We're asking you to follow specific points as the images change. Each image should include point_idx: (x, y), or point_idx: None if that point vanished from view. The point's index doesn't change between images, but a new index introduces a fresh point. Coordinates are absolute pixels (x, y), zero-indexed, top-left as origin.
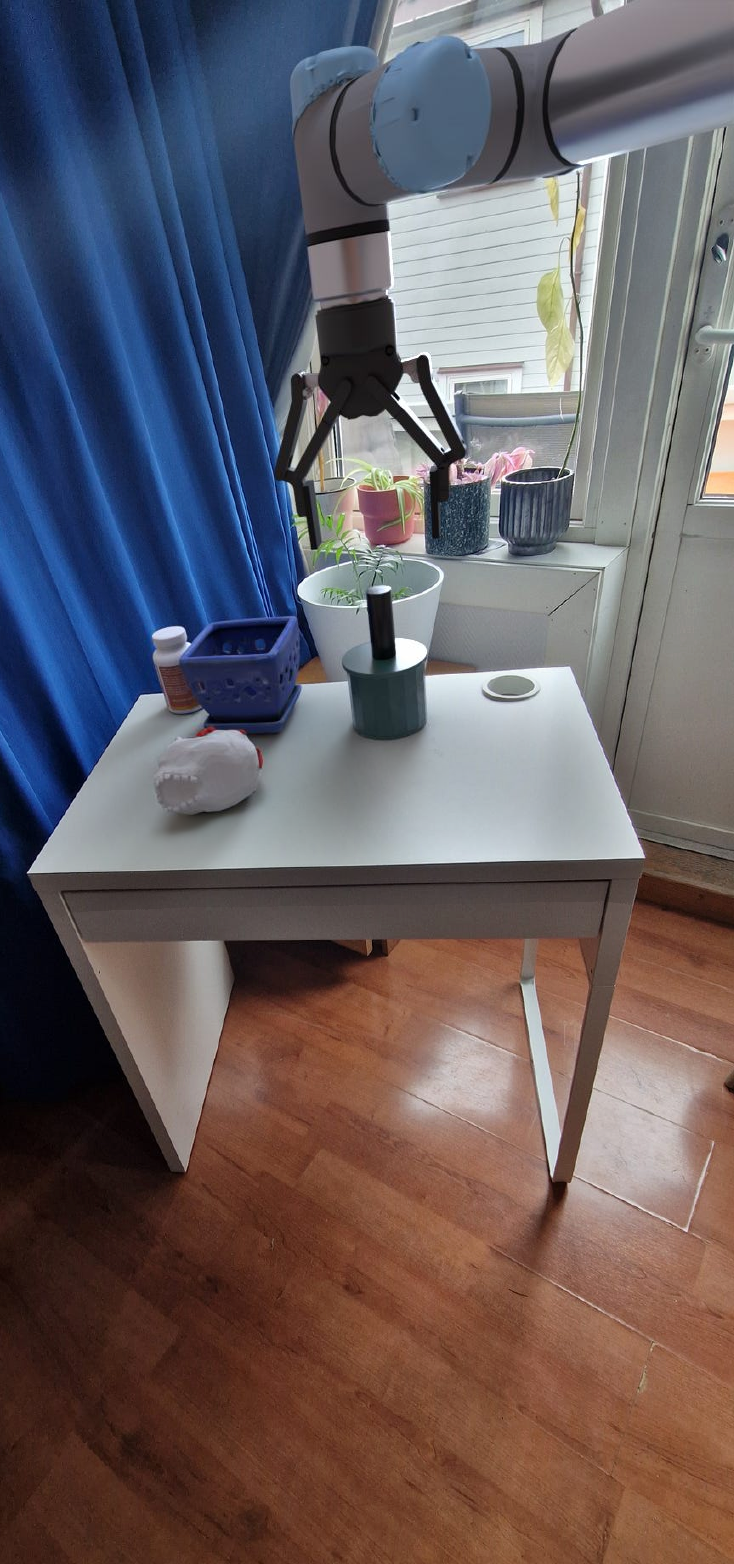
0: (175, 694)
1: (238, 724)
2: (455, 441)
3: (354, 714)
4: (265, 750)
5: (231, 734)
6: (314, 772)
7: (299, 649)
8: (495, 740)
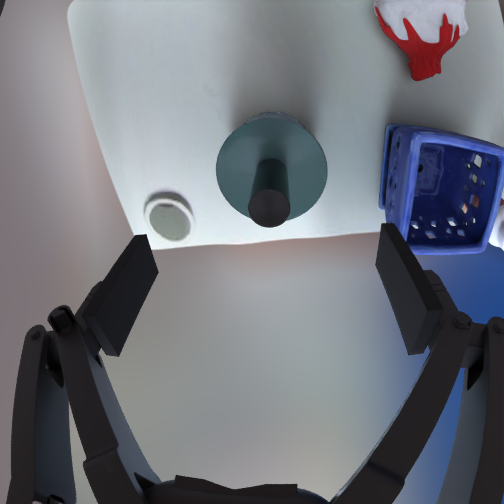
0: None
1: (429, 128)
2: (28, 353)
3: None
4: (394, 99)
5: (415, 12)
6: (331, 52)
7: None
8: (160, 119)
